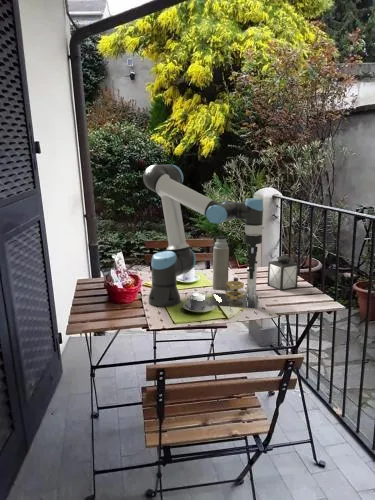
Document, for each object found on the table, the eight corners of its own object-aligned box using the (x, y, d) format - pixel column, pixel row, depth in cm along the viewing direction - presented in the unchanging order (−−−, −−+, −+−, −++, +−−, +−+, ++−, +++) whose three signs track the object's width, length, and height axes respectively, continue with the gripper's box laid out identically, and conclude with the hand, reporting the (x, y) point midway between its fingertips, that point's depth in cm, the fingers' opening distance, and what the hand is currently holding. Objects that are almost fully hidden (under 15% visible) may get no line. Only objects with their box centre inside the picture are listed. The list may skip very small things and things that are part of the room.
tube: (246, 306, 185) (247, 268, 181) (246, 303, 189) (247, 266, 185) (255, 307, 185) (256, 268, 181) (255, 304, 188) (256, 266, 185)
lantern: (283, 282, 227) (285, 232, 221) (297, 288, 218) (300, 236, 212) (267, 285, 222) (269, 234, 216) (281, 291, 212) (283, 238, 206)
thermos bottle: (228, 286, 219) (229, 235, 213) (227, 291, 212) (228, 238, 206) (213, 286, 221) (214, 234, 215) (211, 290, 213) (212, 237, 207)
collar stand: (208, 308, 188) (208, 286, 186) (213, 295, 205) (213, 275, 203) (257, 311, 184) (258, 289, 181) (258, 298, 201) (259, 277, 199)
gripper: (261, 239, 167) (259, 290, 172) (262, 229, 191) (260, 274, 195) (243, 238, 169) (241, 289, 173) (246, 229, 192) (244, 273, 197)
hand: (251, 281), depth 184 cm, fingers open, 12 cm apart
